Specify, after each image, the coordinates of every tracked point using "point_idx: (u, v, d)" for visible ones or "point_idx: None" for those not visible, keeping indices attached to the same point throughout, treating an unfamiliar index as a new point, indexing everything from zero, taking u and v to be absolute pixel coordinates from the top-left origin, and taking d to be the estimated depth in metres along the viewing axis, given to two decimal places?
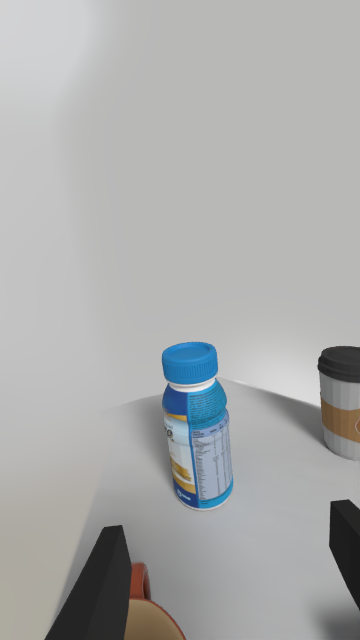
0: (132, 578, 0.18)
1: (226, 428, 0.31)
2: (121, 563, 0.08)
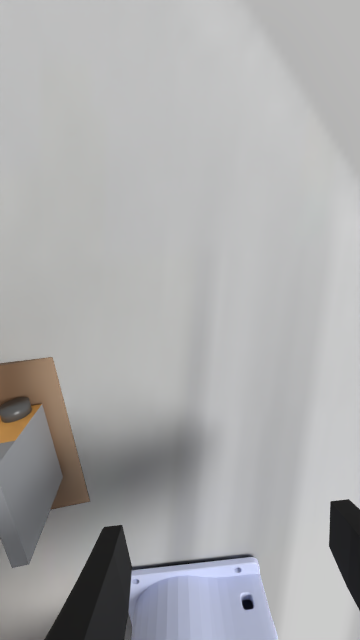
0: None
1: None
2: (121, 563, 0.08)
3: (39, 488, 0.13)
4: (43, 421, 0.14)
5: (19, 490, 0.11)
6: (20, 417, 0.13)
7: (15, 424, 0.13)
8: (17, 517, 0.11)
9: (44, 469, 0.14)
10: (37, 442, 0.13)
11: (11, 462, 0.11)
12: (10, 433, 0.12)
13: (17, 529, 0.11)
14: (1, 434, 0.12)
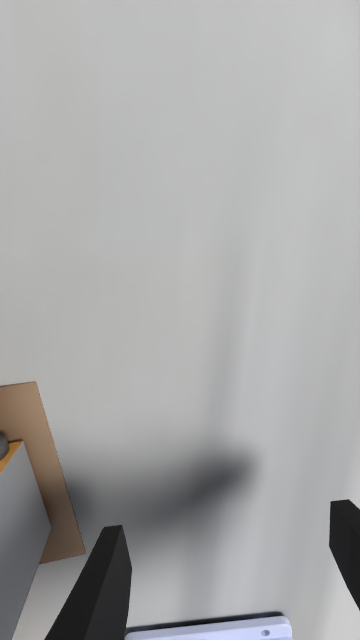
0: None
1: None
2: (121, 563, 0.08)
3: (17, 557, 0.10)
4: (24, 464, 0.11)
5: None
6: None
7: None
8: None
9: (25, 528, 0.10)
10: (15, 495, 0.10)
11: None
12: None
13: None
14: None
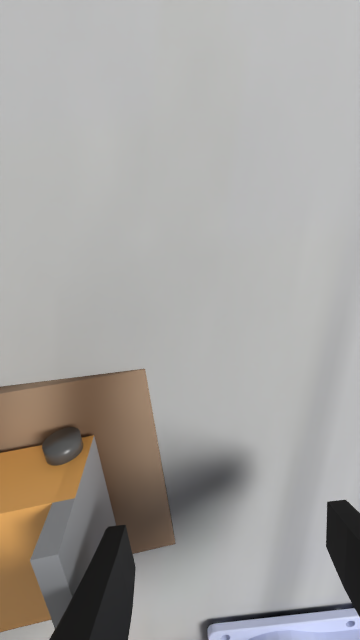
0: None
1: None
2: (125, 563, 0.08)
3: None
4: (96, 459, 0.11)
5: (82, 569, 0.08)
6: (71, 457, 0.10)
7: (67, 468, 0.09)
8: None
9: (101, 523, 0.10)
10: (93, 490, 0.10)
11: (73, 533, 0.08)
12: (64, 484, 0.09)
13: None
14: (51, 486, 0.09)
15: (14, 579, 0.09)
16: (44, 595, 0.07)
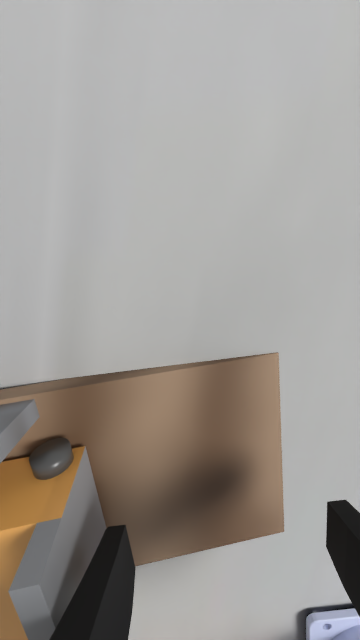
0: None
1: None
2: (125, 563, 0.08)
3: None
4: (87, 471, 0.10)
5: (69, 595, 0.07)
6: (60, 470, 0.09)
7: (55, 484, 0.09)
8: None
9: (92, 540, 0.10)
10: (83, 505, 0.09)
11: (58, 556, 0.07)
12: (51, 502, 0.08)
13: None
14: (37, 503, 0.08)
15: None
16: (25, 628, 0.06)
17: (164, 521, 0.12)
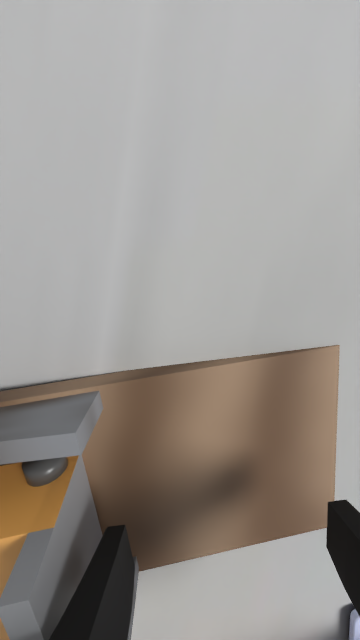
0: None
1: None
2: (124, 563, 0.08)
3: None
4: (83, 477, 0.10)
5: (61, 608, 0.07)
6: (54, 476, 0.09)
7: (48, 491, 0.08)
8: None
9: (87, 548, 0.09)
10: (78, 513, 0.09)
11: (51, 568, 0.07)
12: (43, 510, 0.08)
13: None
14: (29, 512, 0.08)
15: None
16: None
17: (218, 515, 0.12)
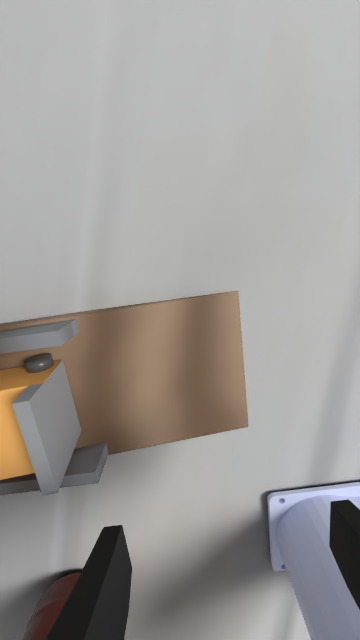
0: None
1: None
2: (121, 563, 0.08)
3: (63, 432, 0.14)
4: (64, 375, 0.15)
5: (47, 426, 0.12)
6: (44, 369, 0.14)
7: (40, 373, 0.14)
8: (47, 449, 0.12)
9: (66, 417, 0.15)
10: (60, 392, 0.14)
11: (41, 400, 0.12)
12: (37, 379, 0.13)
13: (47, 459, 0.12)
14: (29, 380, 0.13)
15: (5, 440, 0.13)
16: (21, 429, 0.11)
17: (162, 413, 0.18)
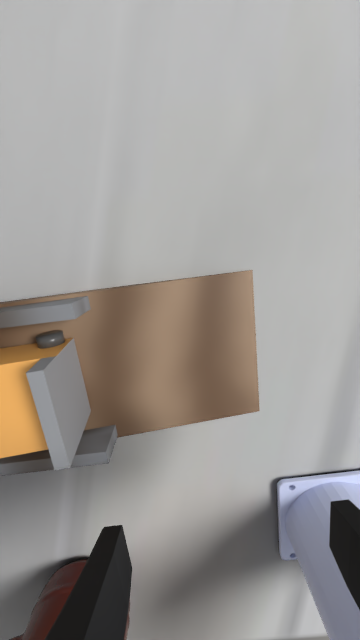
0: None
1: None
2: (121, 563, 0.08)
3: (74, 409, 0.14)
4: (75, 353, 0.15)
5: (60, 400, 0.12)
6: (56, 345, 0.14)
7: (52, 348, 0.14)
8: (60, 422, 0.12)
9: (77, 395, 0.14)
10: (71, 368, 0.14)
11: (54, 373, 0.12)
12: (49, 353, 0.13)
13: (60, 433, 0.12)
14: (40, 354, 0.13)
15: (16, 415, 0.13)
16: (34, 400, 0.11)
17: (173, 395, 0.17)
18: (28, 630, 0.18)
